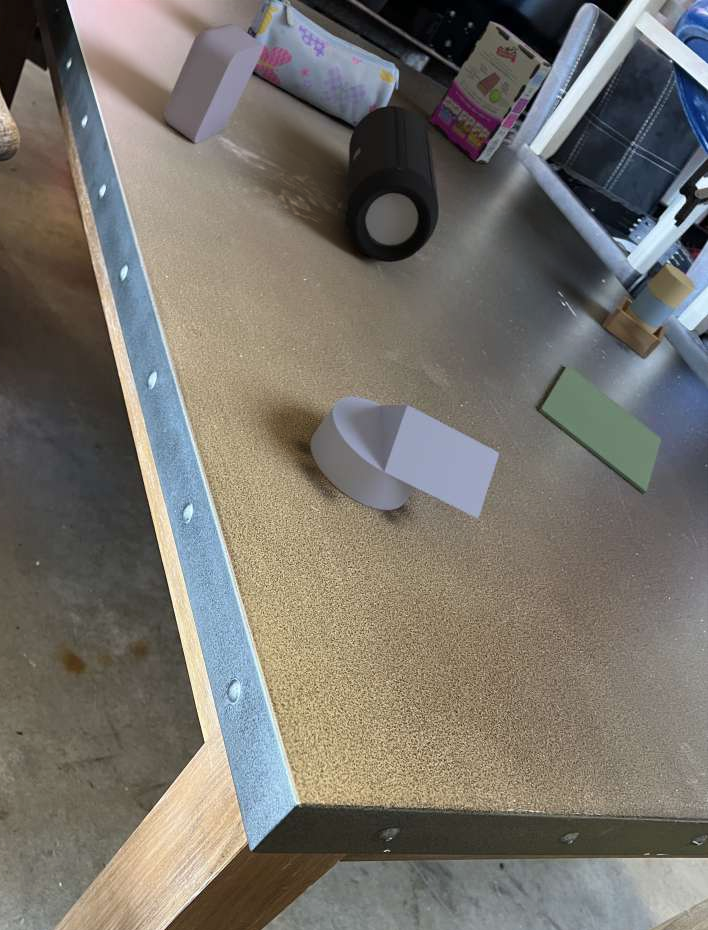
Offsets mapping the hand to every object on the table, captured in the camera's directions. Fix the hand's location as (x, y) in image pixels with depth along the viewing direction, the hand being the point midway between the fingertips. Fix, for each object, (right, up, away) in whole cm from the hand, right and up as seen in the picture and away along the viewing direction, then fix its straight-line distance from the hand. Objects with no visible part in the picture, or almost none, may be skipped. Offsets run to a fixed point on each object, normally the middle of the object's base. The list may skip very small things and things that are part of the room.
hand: (703, 242), depth 132 cm
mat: (-22, -30, -24) cm, 44 cm away
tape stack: (-10, -12, +2) cm, 16 cm away
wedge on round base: (-51, -39, -55) cm, 85 cm away
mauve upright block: (-68, +3, -26) cm, 73 cm away
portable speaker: (-48, -4, -18) cm, 52 cm away
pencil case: (-55, +19, -1) cm, 58 cm away
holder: (-10, -12, +2) cm, 16 cm away
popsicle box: (-29, +25, +24) cm, 45 cm away
